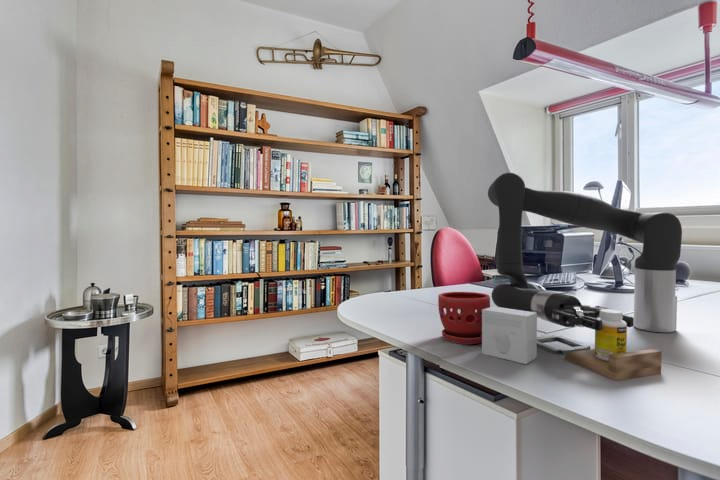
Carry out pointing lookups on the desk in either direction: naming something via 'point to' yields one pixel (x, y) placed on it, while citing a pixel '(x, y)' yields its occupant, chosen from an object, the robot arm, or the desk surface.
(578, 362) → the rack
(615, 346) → the supplement bottle
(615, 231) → the robot arm
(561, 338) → the socket collar
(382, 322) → the desk surface
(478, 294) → the plant pot
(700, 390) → the desk surface
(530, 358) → the skincare box
